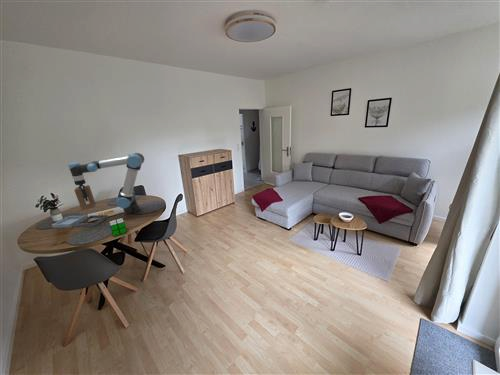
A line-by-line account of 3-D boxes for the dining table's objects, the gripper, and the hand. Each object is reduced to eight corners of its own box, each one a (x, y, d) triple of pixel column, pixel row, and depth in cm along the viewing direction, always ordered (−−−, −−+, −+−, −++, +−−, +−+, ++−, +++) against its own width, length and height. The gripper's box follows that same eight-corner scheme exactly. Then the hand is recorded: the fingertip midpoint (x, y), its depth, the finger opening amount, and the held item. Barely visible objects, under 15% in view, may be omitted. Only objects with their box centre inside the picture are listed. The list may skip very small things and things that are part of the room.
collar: (108, 217, 200) (108, 214, 199) (95, 225, 183) (94, 223, 182) (91, 217, 201) (90, 215, 200) (76, 226, 184) (75, 224, 183)
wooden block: (95, 207, 186) (88, 187, 179) (81, 210, 181) (74, 189, 174) (95, 204, 194) (89, 185, 187) (83, 207, 189) (75, 187, 182)
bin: (86, 218, 199) (85, 215, 198) (71, 227, 182) (69, 224, 181) (69, 219, 200) (68, 216, 199) (52, 228, 183) (51, 224, 182)
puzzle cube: (125, 227, 176) (122, 217, 173) (127, 232, 168) (124, 221, 165) (112, 232, 170) (108, 221, 167) (113, 236, 163) (110, 225, 160)
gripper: (73, 179, 184) (81, 200, 191) (74, 183, 168) (83, 206, 175) (83, 177, 189) (90, 198, 196) (85, 180, 173) (93, 204, 180)
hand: (87, 202), depth 186 cm, fingers closed on wooden block, 11 cm apart
